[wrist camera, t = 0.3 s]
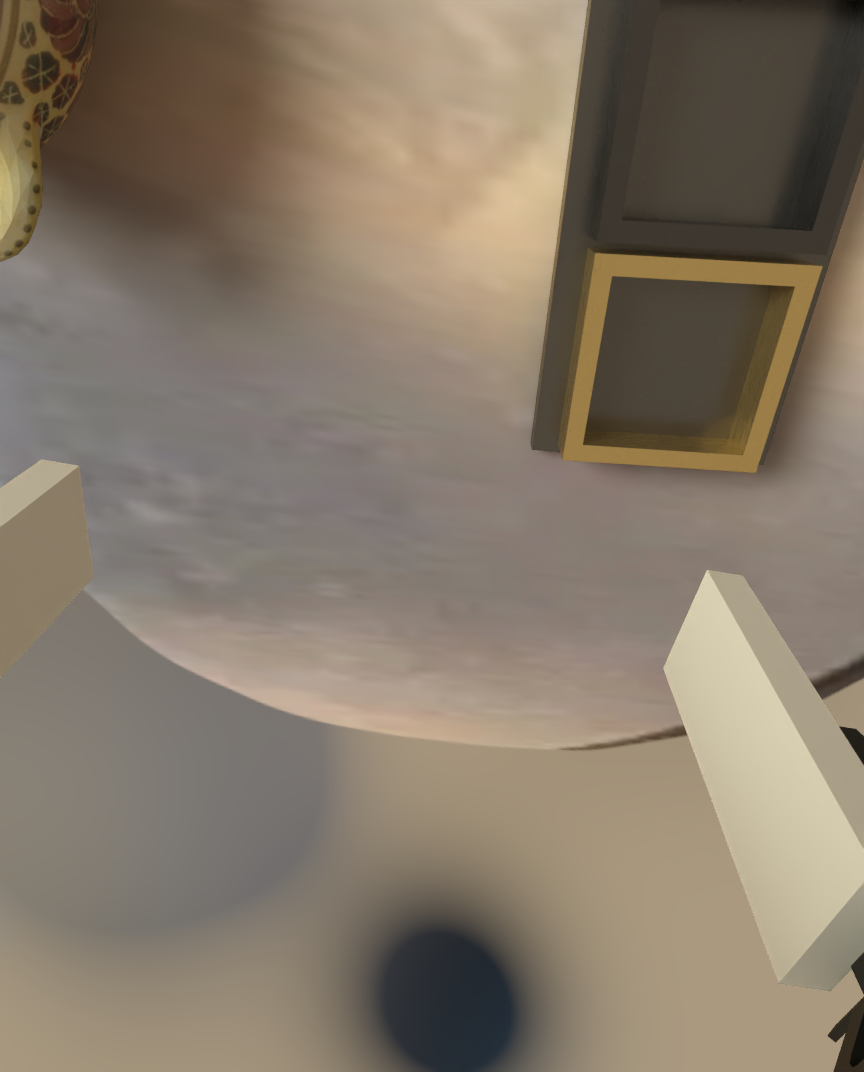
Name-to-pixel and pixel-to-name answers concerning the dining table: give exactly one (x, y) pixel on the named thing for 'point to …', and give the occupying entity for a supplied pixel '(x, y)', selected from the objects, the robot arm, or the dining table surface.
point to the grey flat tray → (696, 224)
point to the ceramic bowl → (36, 99)
